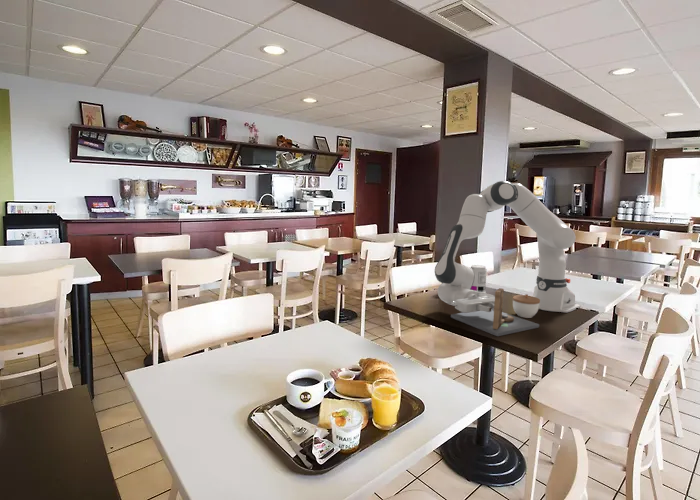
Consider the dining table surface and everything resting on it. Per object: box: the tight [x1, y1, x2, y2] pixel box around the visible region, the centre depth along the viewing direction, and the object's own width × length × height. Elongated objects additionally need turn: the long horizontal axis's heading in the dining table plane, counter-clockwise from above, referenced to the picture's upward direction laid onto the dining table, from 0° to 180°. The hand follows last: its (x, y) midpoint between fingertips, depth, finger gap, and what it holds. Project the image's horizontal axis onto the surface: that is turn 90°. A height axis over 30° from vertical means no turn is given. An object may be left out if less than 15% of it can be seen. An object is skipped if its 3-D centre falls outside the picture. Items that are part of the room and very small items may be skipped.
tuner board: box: [450, 309, 540, 337], centre depth 166 cm, size 23×25×3 cm
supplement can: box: [470, 264, 488, 292], centre depth 209 cm, size 8×8×15 cm
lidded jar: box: [512, 293, 540, 319], centre depth 175 cm, size 11×11×9 cm
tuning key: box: [493, 288, 514, 329], centre depth 160 cm, size 18×7×14 cm, turn 146°
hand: (493, 309), depth 157 cm, fingers open, 2 cm apart
